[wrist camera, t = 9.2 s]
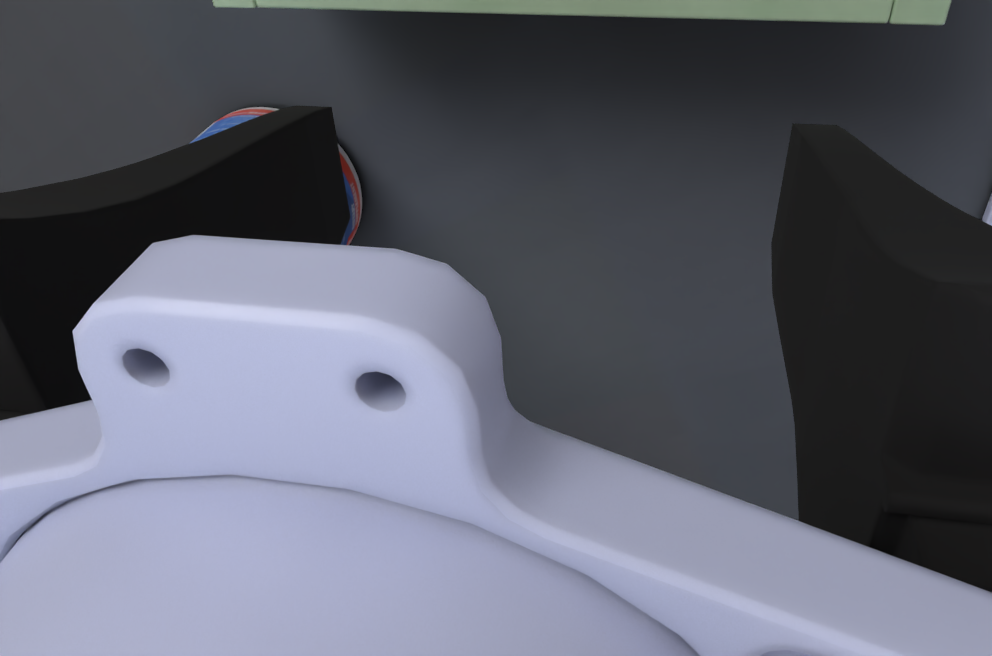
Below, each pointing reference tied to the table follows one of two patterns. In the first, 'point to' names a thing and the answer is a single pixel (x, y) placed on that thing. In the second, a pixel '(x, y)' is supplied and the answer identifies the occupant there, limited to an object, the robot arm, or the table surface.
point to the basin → (651, 8)
